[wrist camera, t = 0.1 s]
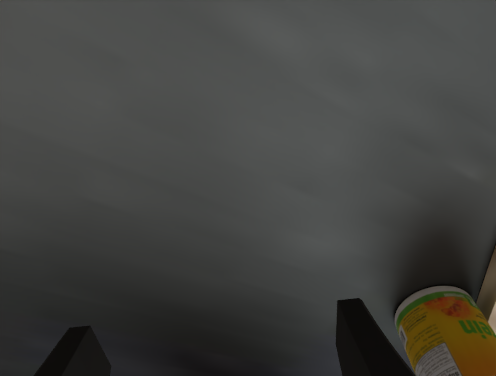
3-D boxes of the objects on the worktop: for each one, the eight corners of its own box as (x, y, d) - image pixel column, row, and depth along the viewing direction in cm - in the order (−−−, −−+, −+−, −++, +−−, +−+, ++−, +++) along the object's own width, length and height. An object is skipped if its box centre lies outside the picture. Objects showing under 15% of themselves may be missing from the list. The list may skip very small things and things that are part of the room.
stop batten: (478, 361, 31) (488, 379, 30) (455, 364, 31) (464, 382, 30) (527, 237, 24) (543, 255, 22) (497, 240, 24) (512, 258, 22)
